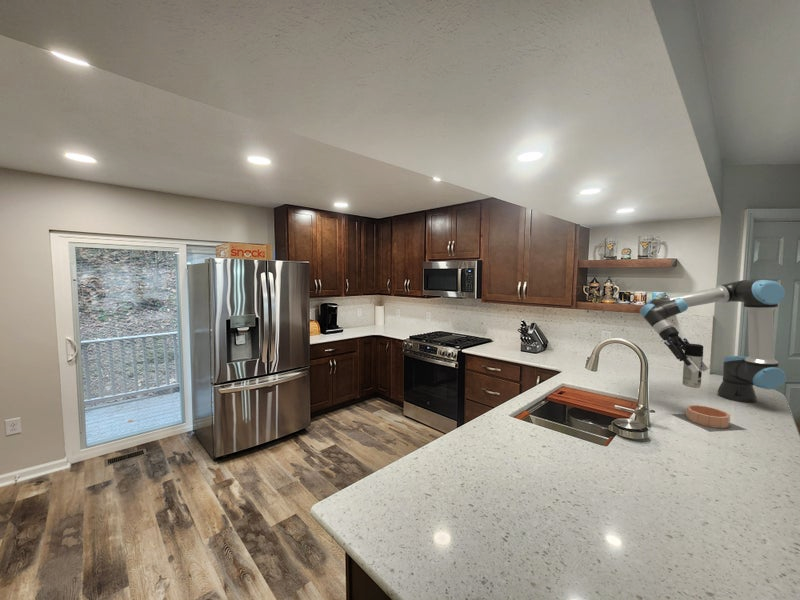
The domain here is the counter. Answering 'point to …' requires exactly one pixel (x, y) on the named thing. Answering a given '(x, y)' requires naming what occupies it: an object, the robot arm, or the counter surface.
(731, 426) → the mat
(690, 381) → the spray can
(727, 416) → the bowl
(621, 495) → the counter surface
